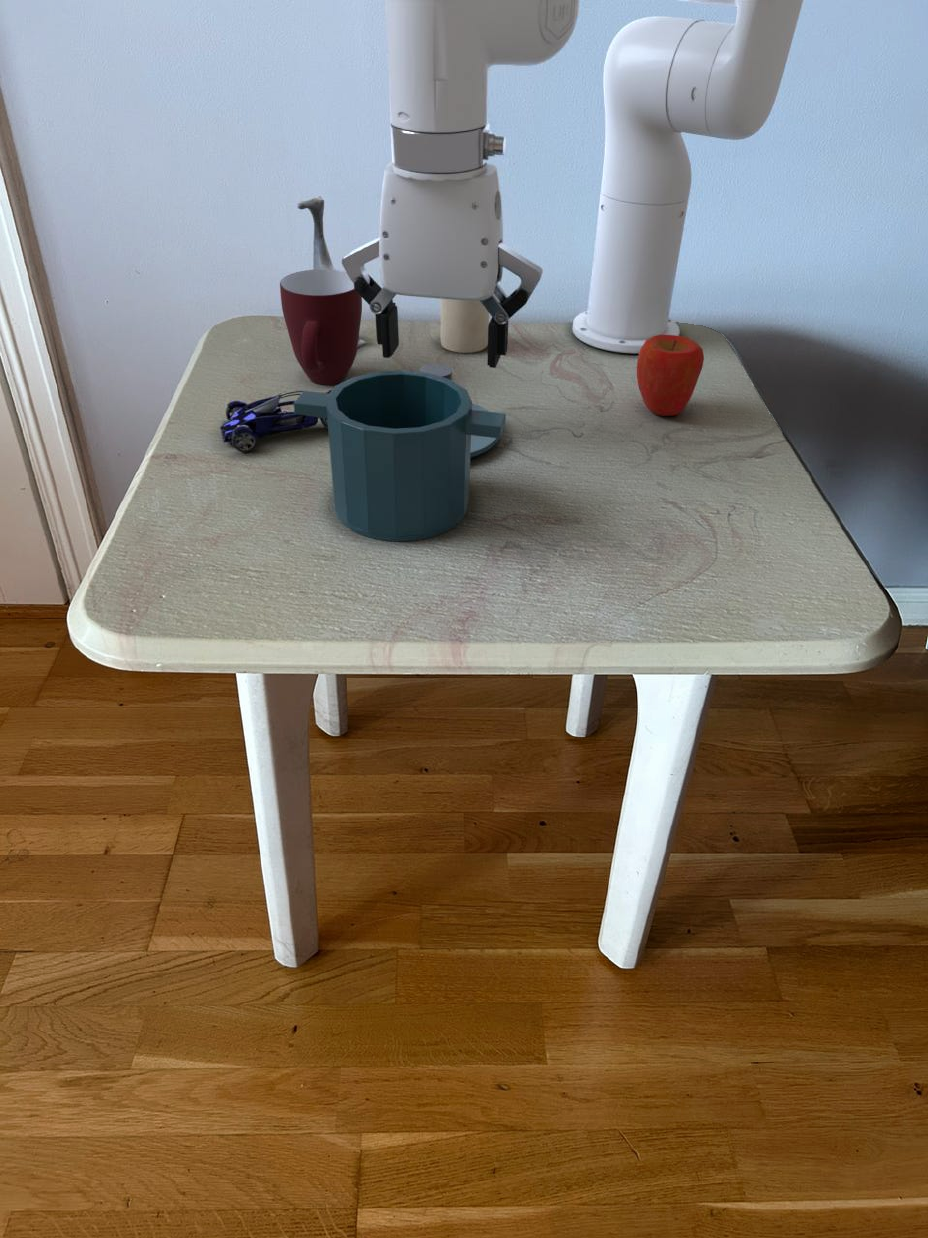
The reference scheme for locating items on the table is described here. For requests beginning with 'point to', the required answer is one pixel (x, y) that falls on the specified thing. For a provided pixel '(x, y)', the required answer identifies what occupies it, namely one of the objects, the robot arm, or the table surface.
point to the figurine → (319, 238)
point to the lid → (477, 442)
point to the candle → (464, 325)
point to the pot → (400, 451)
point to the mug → (322, 322)
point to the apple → (668, 372)
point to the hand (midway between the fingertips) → (442, 356)
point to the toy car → (262, 421)
